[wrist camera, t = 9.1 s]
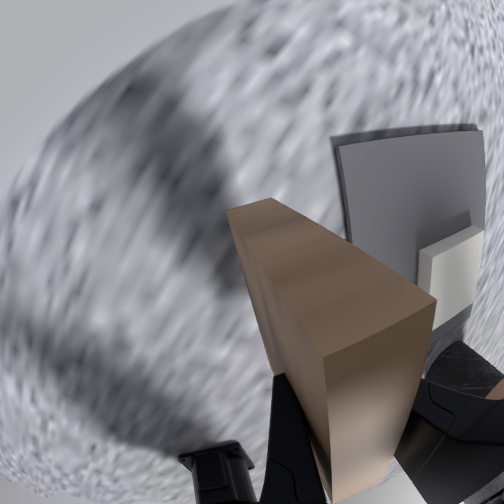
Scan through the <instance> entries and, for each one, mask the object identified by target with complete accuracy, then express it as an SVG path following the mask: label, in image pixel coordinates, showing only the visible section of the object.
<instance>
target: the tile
mask: <svg viewBox="0 0 504 504" xmlns="http://www.w3.org/2000/svg"><path fill="white" fill-rule="evenodd" d="M483 239H484V230H482V229H480V228H477V227H475V226H473V225H472V226H470V227H468V228H466V229H464V230H462V231H459V232H457V233H455V234H453V235H451V236H449V237H447V238H445V239H443V240H441V241H438V242H436V243H434V244H432V245H430V246H427V247H425V248H423V249H421V250H419V267H418V283H417V286H418V287H419V288H421V289H422V290H424V291H425V292H427V293H428V294H430V295H431V296H433V297H434V298H435V299H437V305H436V311H435V317H434V323H433V329H432V331H433V330H434V329H436V328H437V327H439V326H440V325H442V324H443V323H445V322H446V321H448V320H449V319H451V318H452V317H454V316H455V315H456V314H458V313H459V312H461V311H462V310H463V309H465V308H466V307H468V306H469V305H470V304H472V303H473V301H474V297H475V292H476V287H477V282H478V276H479V270H480V263H481V256H482V248H483Z"/></svg>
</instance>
